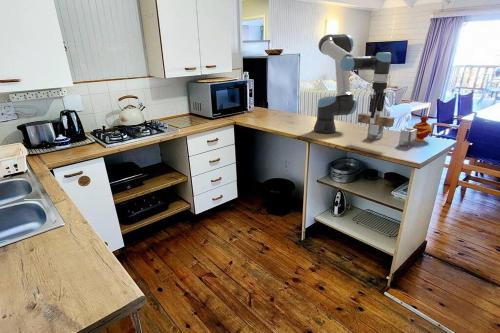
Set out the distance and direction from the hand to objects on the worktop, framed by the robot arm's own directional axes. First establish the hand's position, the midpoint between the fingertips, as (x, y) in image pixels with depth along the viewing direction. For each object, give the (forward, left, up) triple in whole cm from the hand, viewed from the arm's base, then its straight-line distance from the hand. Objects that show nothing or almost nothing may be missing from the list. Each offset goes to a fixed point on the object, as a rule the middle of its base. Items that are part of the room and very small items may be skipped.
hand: (374, 122), depth 173 cm
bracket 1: (-5, +13, -13) cm, 19 cm away
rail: (0, 0, -1) cm, 1 cm away
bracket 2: (+15, +13, -13) cm, 24 cm away
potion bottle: (+17, +28, -13) cm, 35 cm away
